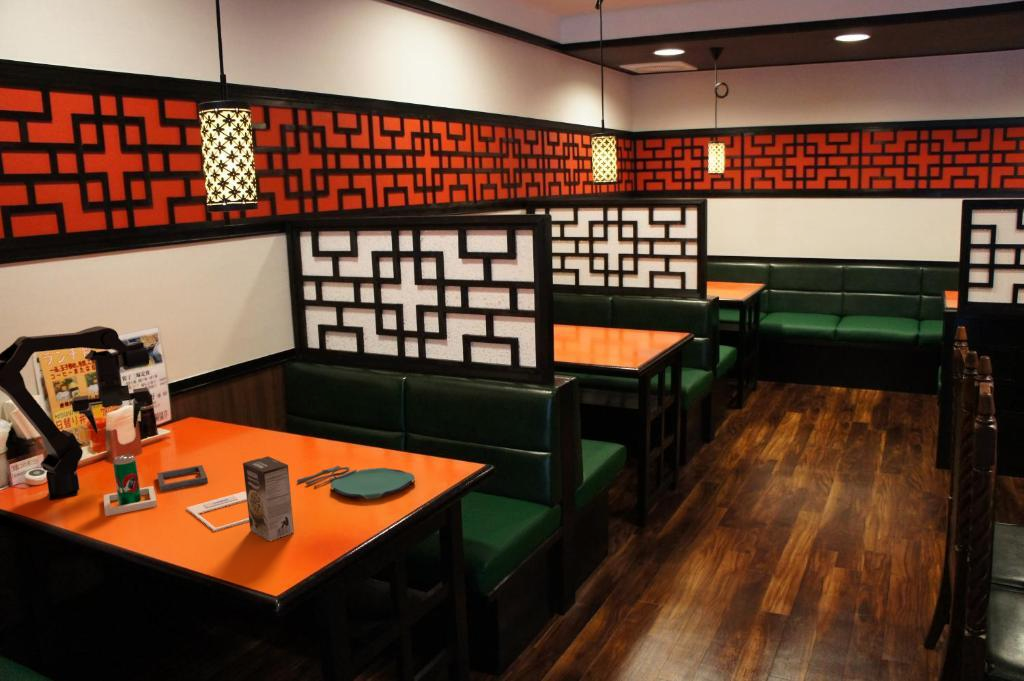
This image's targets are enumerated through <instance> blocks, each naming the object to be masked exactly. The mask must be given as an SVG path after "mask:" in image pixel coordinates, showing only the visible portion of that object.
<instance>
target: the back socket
mask: <svg viewBox="0 0 1024 681" xmlns="http://www.w3.org/2000/svg"><path fill="white" fill-rule="evenodd" d="M197 473H198V475H199V477H195V478H190V479H184V480H179V481H174V482H168V483H165V479H171V478H175V477H180V476H186V475H192V474H197ZM156 477H157V482H158V484H159V485H158V486H159V488H160V489H159V490H160V492H161V493H163V492H168V491H172V489H173V490H178V489H177V488H179V489H182V487H184V488H189V487H194V485H195V486H199V485H205V484H208V483H209V480H208V476H207V474H206V470H205V469H204V466H203V464H201V465H195V466H190V467H184V468H179V469H178V468H177V469H172V470H167V471H161V472H157V473H156Z"/></svg>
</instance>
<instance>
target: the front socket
mask: <svg viewBox="0 0 1024 681" xmlns="http://www.w3.org/2000/svg"><path fill="white" fill-rule="evenodd" d="M140 495H141V496H144V495H149V499H148V500H143V501H142V500H141V501H140V502H136V503H131V504H126V505H117V506H111V502H113V501H118V495H117V492H113V493H108V494H103V504H104V505H103V506H104V514H105V517H108V516H114V515H119V514H123V513H124V514H125V513H128V512H135V511H139V510H140V511H141V510H144V509H149V508H154V507H158V503H157V501H158V500H157V496H156V492H155V488H154V485H151V486H145V487H140Z"/></svg>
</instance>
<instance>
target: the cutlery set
mask: <svg viewBox="0 0 1024 681" xmlns="http://www.w3.org/2000/svg"><path fill="white" fill-rule="evenodd" d="M349 469H350V467H348V466H345V467H342V466H340V465H336V466H334V467H330V468H327V469H321V471H320V472H317V473H314V474H312V475H309V476H305V477H302V478H298V479H297V480H296V483H297V484H301V483H303V482H305V485H306V486H307V485H311V484H313V483H315V482H318V481H320V480H323V479H326V478H328V477H330V478H329V479H327V480H326V481H323V482H321V483H318V484H315V485H313V487H314V489H317V487H320V486H322V485H324V484H326V483H330V482H331V483H330V489H329V491H330V492H333V490H334V491H335V492H336V493H337V494H340V495H342V496H346V497H350V498H351V497H353V498H365V499H367V500H370V499H372V500H373V499H379V498H381V496H386V495H391V494H394V493H396V492H399V491H401V490H403V489H405V488H407V487H409V485H410V484H411V483H412V484H415V482H416V481H415V480H416V479H415V476H414V474H413V473H412V472H408V471H407V472H406V471H403V470H401V469H394V468H388V467H387V468H386V467H375V468H374V467H373V468H364V469H360V470H357V469H353V470H350V471H349ZM343 470H344V471H343ZM338 471H341V472H338ZM326 473H327V474H328V475H323V476H320V475H322V474H326ZM329 473H330V474H329ZM336 475H338V476H336ZM319 476H320V477H319ZM332 476H333V477H332ZM313 478H314V479H313Z"/></svg>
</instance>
